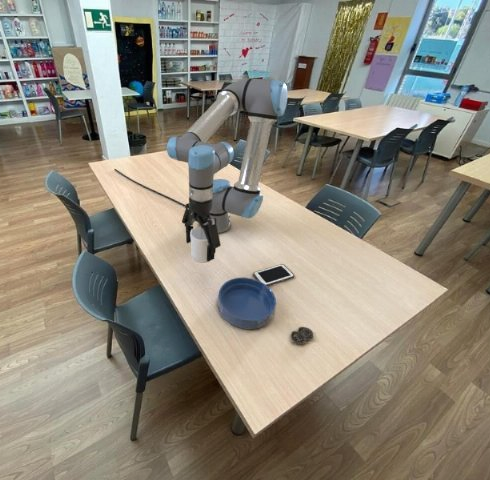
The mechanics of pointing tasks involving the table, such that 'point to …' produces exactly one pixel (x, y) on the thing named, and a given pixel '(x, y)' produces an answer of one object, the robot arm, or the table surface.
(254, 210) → the robot arm
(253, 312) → the bowl
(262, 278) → the cell phone
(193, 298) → the table surface
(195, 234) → the mug
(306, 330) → the corroded twin loop
